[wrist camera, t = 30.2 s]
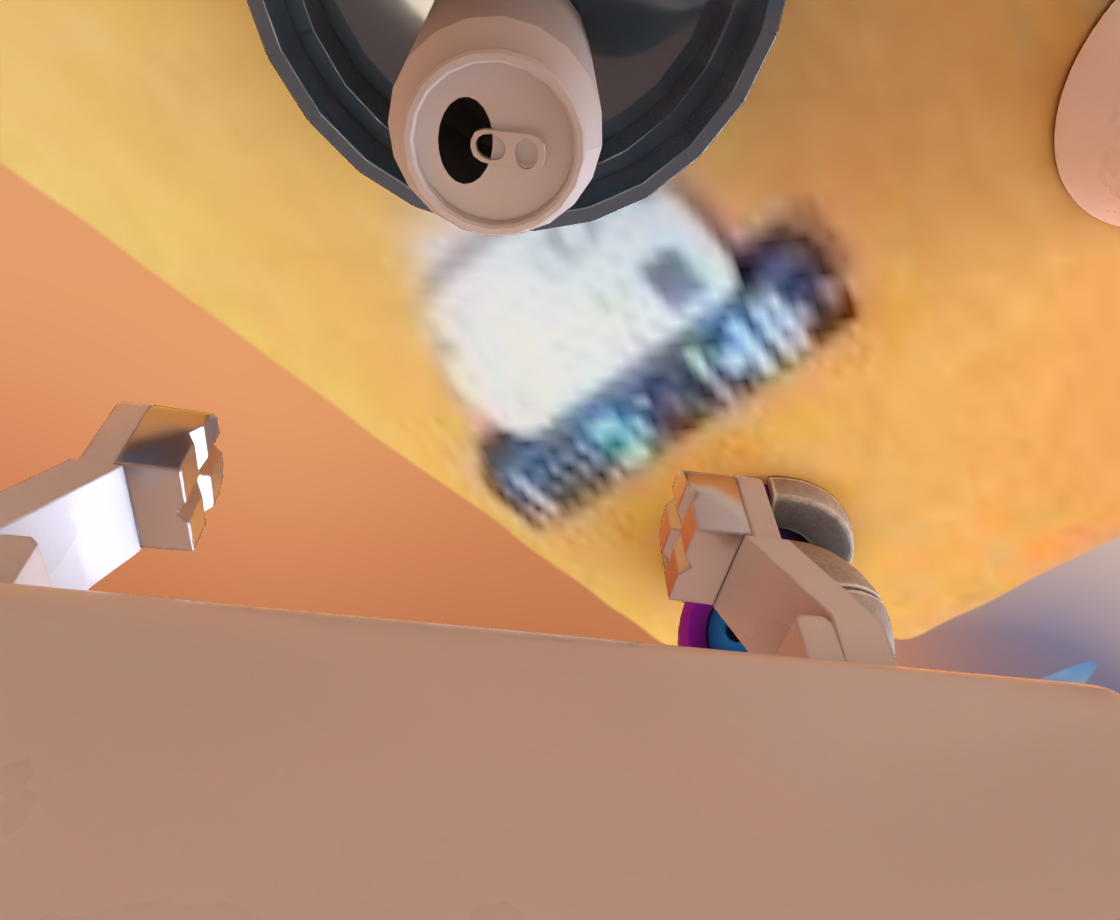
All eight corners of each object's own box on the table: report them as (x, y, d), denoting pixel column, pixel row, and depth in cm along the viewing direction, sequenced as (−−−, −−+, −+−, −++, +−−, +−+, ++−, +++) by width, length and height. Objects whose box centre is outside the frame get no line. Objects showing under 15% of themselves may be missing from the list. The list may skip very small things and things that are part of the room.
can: (421, -51, 34) (377, 13, 25) (601, -28, 35) (622, 43, 25) (420, 133, 39) (383, 245, 29) (578, 151, 39) (589, 265, 30)
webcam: (777, 446, 52) (844, 636, 40) (886, 543, 58) (971, 734, 46) (627, 550, 58) (648, 743, 46) (739, 629, 64) (783, 818, 52)
